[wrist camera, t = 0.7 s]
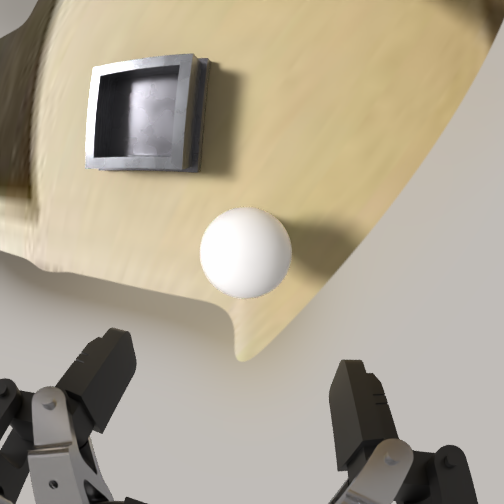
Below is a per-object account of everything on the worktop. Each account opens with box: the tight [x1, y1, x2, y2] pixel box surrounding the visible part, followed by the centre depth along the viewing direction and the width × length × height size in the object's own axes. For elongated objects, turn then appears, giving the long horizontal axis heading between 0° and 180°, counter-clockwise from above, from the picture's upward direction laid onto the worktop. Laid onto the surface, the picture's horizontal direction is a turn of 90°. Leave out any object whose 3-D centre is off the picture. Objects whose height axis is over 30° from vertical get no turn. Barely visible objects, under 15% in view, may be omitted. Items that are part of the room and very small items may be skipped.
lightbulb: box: [200, 207, 292, 299], centre depth 22 cm, size 6×6×11 cm
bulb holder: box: [85, 54, 210, 172], centre depth 22 cm, size 11×11×4 cm
